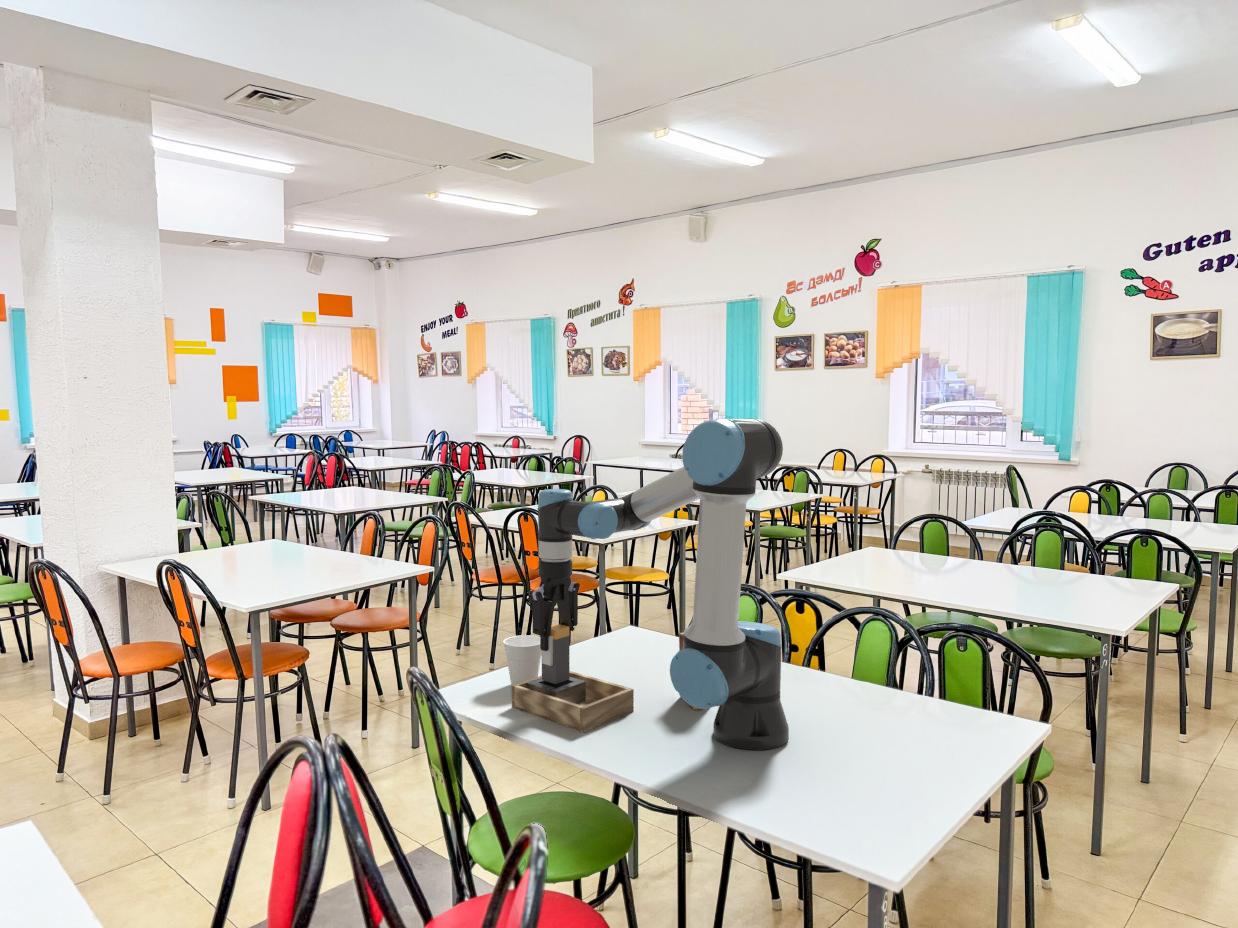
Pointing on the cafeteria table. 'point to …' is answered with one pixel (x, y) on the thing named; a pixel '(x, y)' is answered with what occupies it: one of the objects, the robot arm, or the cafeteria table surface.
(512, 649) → the cup
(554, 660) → the connector
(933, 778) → the cafeteria table surface
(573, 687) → the frame
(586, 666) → the cafeteria table surface
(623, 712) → the tray
